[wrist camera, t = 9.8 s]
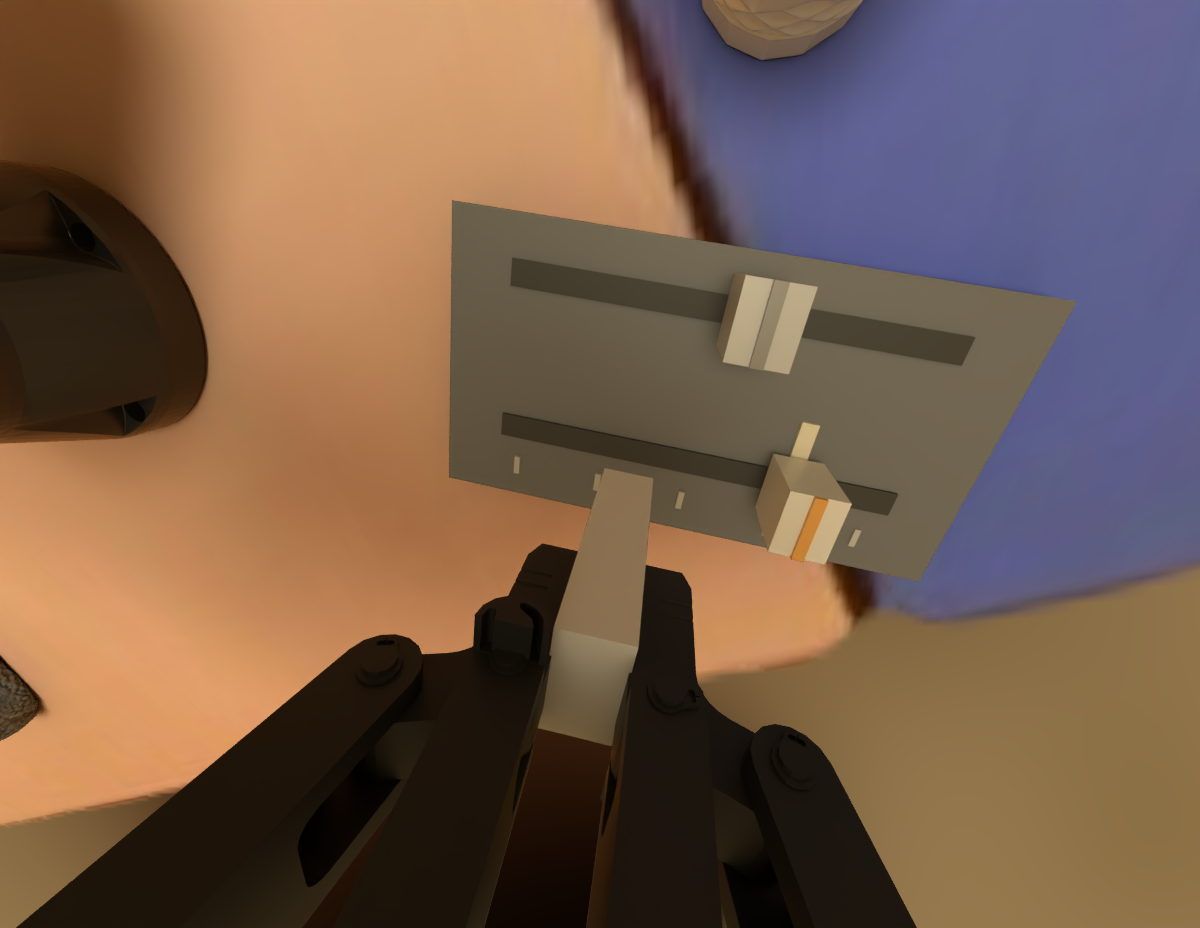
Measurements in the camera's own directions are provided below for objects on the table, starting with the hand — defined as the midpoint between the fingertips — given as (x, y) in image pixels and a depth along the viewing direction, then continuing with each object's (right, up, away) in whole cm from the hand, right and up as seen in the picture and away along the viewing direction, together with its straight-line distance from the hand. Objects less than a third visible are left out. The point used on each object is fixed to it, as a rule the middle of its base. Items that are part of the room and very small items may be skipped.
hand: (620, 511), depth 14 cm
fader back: (+9, 0, +8) cm, 12 cm away
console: (+5, +5, +9) cm, 12 cm away
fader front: (+6, +8, +5) cm, 11 cm away
